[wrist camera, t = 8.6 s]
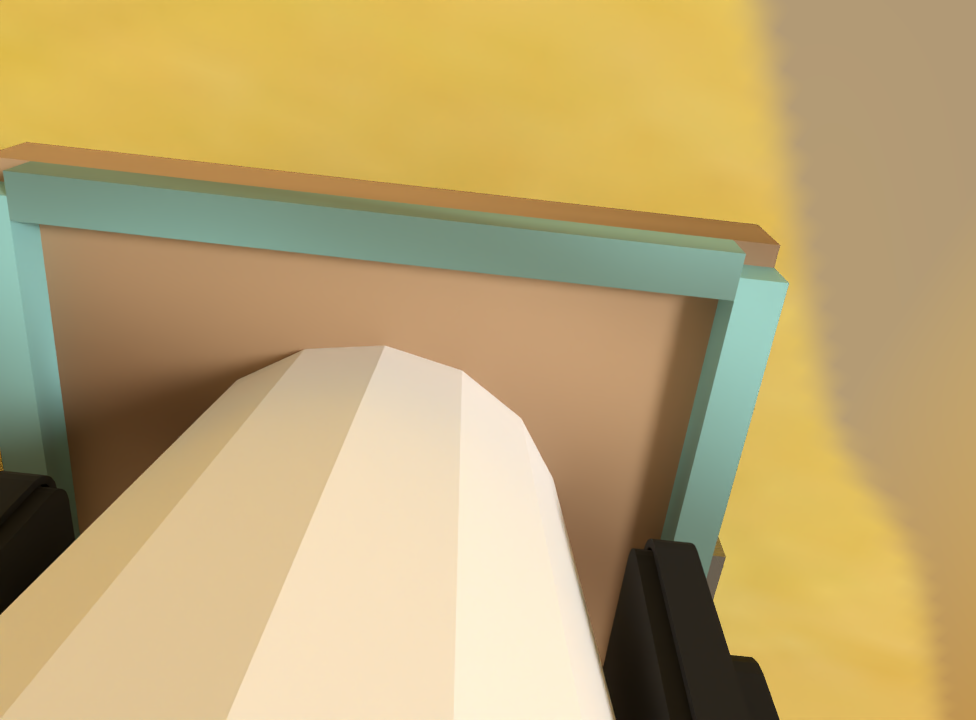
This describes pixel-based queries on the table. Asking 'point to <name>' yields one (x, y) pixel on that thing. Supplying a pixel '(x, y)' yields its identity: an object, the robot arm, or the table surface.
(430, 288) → the balance beam board
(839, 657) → the table surface
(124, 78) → the table surface
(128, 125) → the table surface
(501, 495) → the cup of milk
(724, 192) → the table surface
